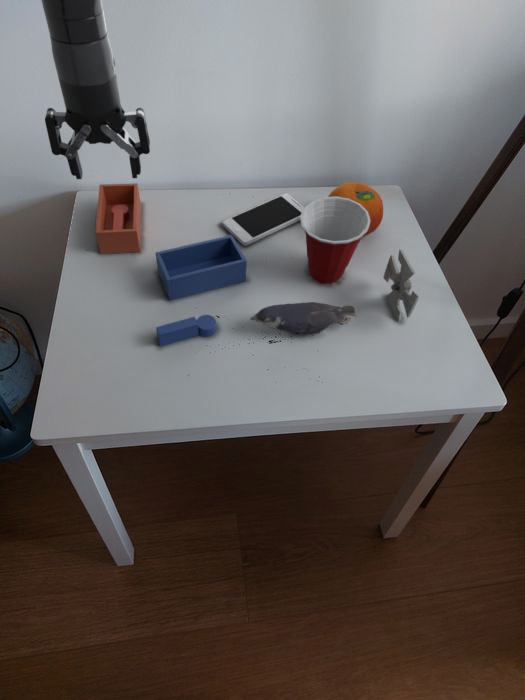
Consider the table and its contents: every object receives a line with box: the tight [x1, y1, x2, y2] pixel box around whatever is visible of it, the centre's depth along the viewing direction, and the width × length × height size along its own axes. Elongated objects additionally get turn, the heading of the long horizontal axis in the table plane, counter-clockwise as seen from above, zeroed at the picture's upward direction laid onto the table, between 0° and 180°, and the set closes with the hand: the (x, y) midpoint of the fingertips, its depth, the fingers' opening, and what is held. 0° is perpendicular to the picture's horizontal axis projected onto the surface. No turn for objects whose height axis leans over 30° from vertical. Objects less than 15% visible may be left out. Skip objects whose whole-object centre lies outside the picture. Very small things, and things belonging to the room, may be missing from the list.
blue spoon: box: [155, 314, 217, 347], centre depth 77 cm, size 9×3×3 cm, turn 113°
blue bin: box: [155, 234, 247, 301], centre depth 84 cm, size 13×7×5 cm, turn 113°
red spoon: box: [111, 204, 130, 230], centre depth 90 cm, size 9×3×3 cm, turn 8°
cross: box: [383, 248, 420, 322], centre depth 80 cm, size 10×3×10 cm, turn 13°
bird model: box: [249, 301, 358, 336], centre depth 78 cm, size 4×17×5 cm, turn 98°
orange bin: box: [94, 182, 142, 254], centre depth 90 cm, size 13×7×5 cm, turn 8°
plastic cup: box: [300, 196, 371, 285], centre depth 83 cm, size 11×11×12 cm
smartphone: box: [221, 192, 305, 247], centre depth 95 cm, size 7×16×1 cm, turn 128°
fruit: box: [327, 181, 384, 238], centre depth 92 cm, size 11×10×8 cm
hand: (107, 175), depth 81 cm, fingers open, 8 cm apart
